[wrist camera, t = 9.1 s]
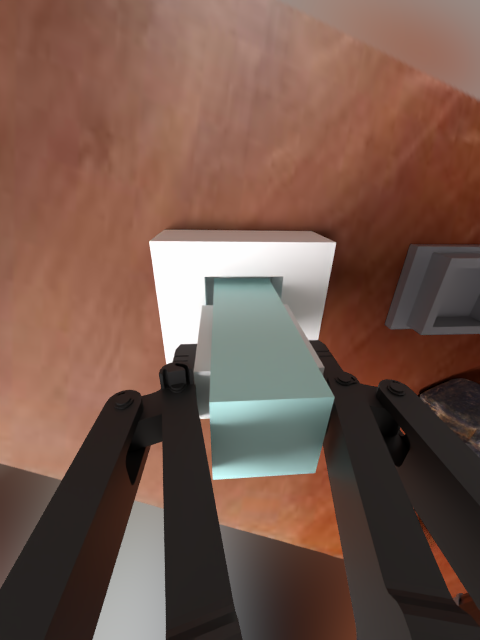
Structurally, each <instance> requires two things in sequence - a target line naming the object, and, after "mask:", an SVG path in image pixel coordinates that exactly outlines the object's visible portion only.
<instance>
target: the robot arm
mask: <svg viewBox="0 0 480 640" xmlns="http://www.w3.org/2000/svg"><path fill="white" fill-rule="evenodd" d="M283 305H284V307H285V308H286V310H287V312H288V314H289V316H290V317H291V319H292V321H293V323H294V325H295V326H296V328H297V330H298V332H299V334H300V335H301V337H302V339H303V341H304V343H305V344H306V346H307V348H308V350H309V352H310V353H311V355H312V357H313V359H314V361H315V362H316V364H317V366H318V368H319V370H320V371H321V373H322V375H323V377H324V379H325V380H326V382H327V384H328V386H329V388H330V389H331V391H332V393H333V395H334V397H335V398H334V402H333V406H332V410H331V413H330V417H329V421H328V425H327V429H326V433H325V437H324V441H323V448H324V453H325V458H326V464H327V469H328V475H329V480H330V486H331V491H332V497H333V502H334V508H335V513H336V519H337V524H338V530H339V535H340V541H341V546H342V552H343V557H344V562H345V568H346V574H347V579H348V585H349V590H350V596H351V601H352V606H353V611H354V617H355V623H356V632H357V640H480V458H479V457H478V456H477V455H476V454H475V453H474V452H473V451H472V450H471V449H470V448H469V447H468V446H467V445H466V444H465V443H464V442H463V441H462V440H461V439H460V438H459V437H458V436H457V435H456V434H455V433H454V432H453V431H452V430H451V429H450V428H449V427H448V426H447V425H446V424H445V423H444V422H443V421H442V420H441V419H440V418H439V417H438V416H437V415H436V414H435V413H434V412H433V411H432V410H431V409H430V408H429V407H428V406H427V405H426V404H425V403H424V402H423V401H422V400H421V399H420V398H419V397H418V396H417V395H416V394H415V393H414V392H413V391H412V390H411V389H410V388H409V387H407V386H406V385H405V384H403V383H401V382H398V381H395V380H388V379H386V380H382V381H381V382H380V383H379V385H378V387H374V386H369V385H364V384H360V383H359V381H358V380H357V378H356V377H354V376H353V375H352V374H349V373H347V372H343V370H342V369H341V367H340V366H339V364H338V363H337V361H336V360H335V358H334V357H333V356H332V354H331V353H330V352H329V350H328V348H327V347H326V345H325V344H323V343H322V342H320V341H319V340H308V338H307V337H306V335H305V333H304V332H303V330H302V328H301V327H300V325H299V323H298V321H297V320H296V318H295V316H294V315H293V313H292V311H291V310H290V308H289V306H288V305H287V304H283ZM212 320H213V305H202V311H201V319H200V326H199V334H198V342H197V344H180V345H179V347H178V348H177V349H176V350H175V354H174V358H173V362H172V363H168V364H167V365H165V366H163V367H162V368H161V369H160V372H159V378H160V384H161V389H160V390H159V391H157V392H154V393H152V394H148V395H145V396H141V395H140V393H139V392H137V391H134V390H125V391H121V392H119V393H116V394H115V395H113V396H112V397H110V398H109V400H108V401H107V402H106V404H105V405H104V407H103V409H102V411H101V413H100V414H99V416H98V418H97V420H96V421H95V423H94V425H93V427H92V428H91V430H90V432H89V434H88V435H87V437H86V439H85V441H84V442H83V444H82V446H81V448H80V450H79V451H78V453H77V455H76V457H75V458H74V460H73V462H72V464H71V465H70V467H69V469H68V471H67V472H66V474H65V476H64V478H63V479H62V481H61V483H60V485H59V487H58V488H57V490H56V492H55V494H54V496H53V497H52V499H51V501H50V502H49V504H48V506H47V508H46V509H45V511H44V513H43V515H42V517H41V518H40V520H39V522H38V524H37V525H36V527H35V529H34V531H33V533H32V534H31V536H30V538H29V539H28V541H27V543H26V545H25V546H24V548H23V550H22V552H21V554H20V556H19V557H18V559H17V561H16V562H15V564H14V566H13V568H12V569H11V571H10V573H9V575H8V576H7V578H6V580H5V582H4V584H3V585H2V587H1V589H0V640H92V639H93V635H94V632H95V629H96V626H97V622H98V619H99V616H100V612H101V609H102V606H103V602H104V599H105V596H106V593H107V589H108V585H109V583H110V579H111V576H112V573H113V569H114V565H115V563H116V559H117V556H118V552H119V549H120V546H121V542H122V539H123V536H124V533H125V529H126V526H127V523H128V519H129V516H130V513H131V509H132V506H133V503H134V499H135V496H136V493H137V489H138V486H139V483H140V480H141V476H142V473H143V470H144V466H145V463H146V460H147V456H148V453H149V450H150V446H151V445H153V444H156V443H159V442H162V443H163V495H164V543H165V545H164V546H165V597H166V640H242V636H241V630H240V626H239V622H238V618H237V615H236V612H235V608H234V604H233V598H232V593H231V587H230V582H229V576H228V571H227V565H226V560H225V554H224V549H223V543H222V538H221V532H220V527H219V521H218V516H217V510H216V505H215V499H214V493H213V488H212V482H211V477H210V471H209V466H208V460H207V455H206V449H205V444H204V438H203V433H202V427H201V422H200V419H206V418H210V409H209V395H210V370H211V345H212ZM400 427H401V428H402V430H403V431H404V432H405V433H406V434H405V435H404V434H403V433H402V432H401V431H400ZM413 508H414V509H415V511H416V512H417V514H418V515H419V517H420V519H421V520H422V522H423V523H424V525H425V526H426V528H427V529H428V531H429V533H430V534H431V536H432V537H433V539H434V540H435V542H436V543H437V545H438V547H439V548H440V550H441V551H442V553H443V554H444V556H445V557H446V559H447V561H448V562H449V564H450V565H451V567H452V568H453V570H454V571H455V573H456V575H457V576H458V578H459V579H460V581H461V582H462V584H463V585H464V587H465V589H466V590H467V592H468V593H466V594H463V593H459V594H457V595H456V597H454V598H452V596H451V594H450V593H449V591H448V588H447V586H446V584H445V581H444V579H443V577H442V574H441V572H440V570H439V567H438V565H437V563H436V560H435V558H434V556H433V553H432V551H431V548H430V546H429V544H428V541H427V539H426V537H425V534H424V532H423V530H422V527H421V525H420V523H419V520H418V518H417V516H416V513H415V511H414V509H413Z"/></svg>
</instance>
